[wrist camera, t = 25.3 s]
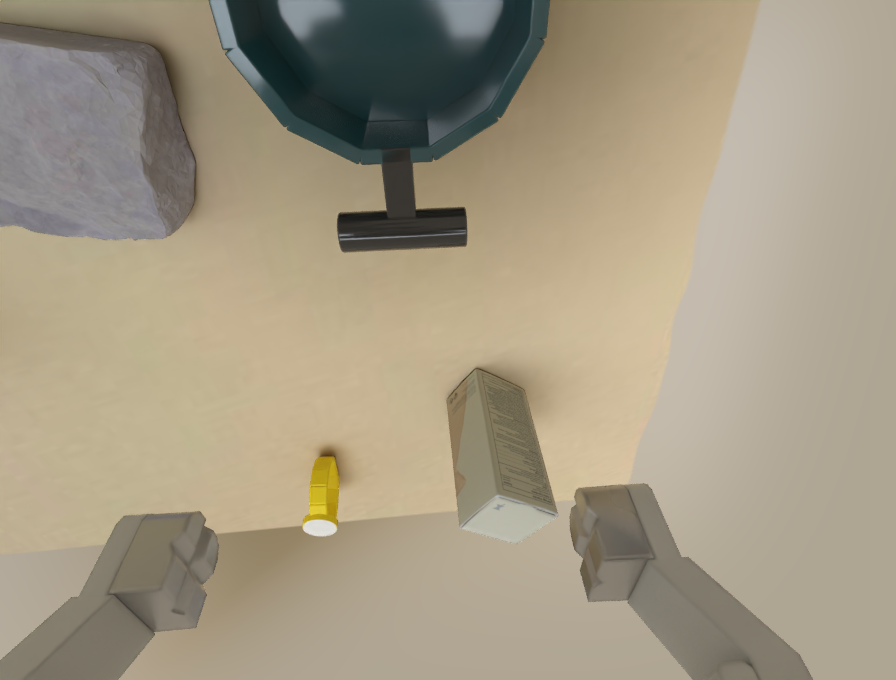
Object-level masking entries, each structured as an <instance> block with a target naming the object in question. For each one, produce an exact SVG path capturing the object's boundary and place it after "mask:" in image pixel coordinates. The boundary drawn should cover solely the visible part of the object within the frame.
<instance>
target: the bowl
mask: <svg viewBox="0 0 896 680" xmlns="http://www.w3.org/2000/svg"><path fill="white" fill-rule="evenodd" d="M209 3H210V7H211V10H212V14H213V17H214V21H215V24H216V28H217V32H218V35H219V39H220V42H221V46H222V48H223V50H228V51H227V52H226V53H225V55H226V56H227V57H228V59H229V60H230V61H231V62H232V64H233V65H234V66H235V67H236V69H237V70H238V71H239V72H240V73H241V75H242V76H243V77H244V78H245V80H246V81H247V82H248V83H249V85H250V86H251V87H252V88H253V89H254V91H255V92H256V93H257V94H258V96H259V97H260V98H261V99H262V101H263V102H264V103H265V104H266V106H267V107H268V108H269V109H270V110H271V112H272V113H273V114H274V115H275V117H276V118H277V119H278V120H279V122H280V123H281V124H282V125H283V126H284V127H286V126H288V127H287V130H288V131H290V132H292V133H295V134H297V135H299V136H301V137H303V138H305V139H307V140H309V141H311V142H313V143H315V144H317V145H319V146H321V147H323V148H325V149H327V150H329V151H331V152H334V153H336V154H338V155H340V156H342V157H344V158H346V159H348V160H350V161H352V162H354V163H356V164H359V162H361V164H362V165H370V164H382V173H383V182H384V191H385V199H386V208H387V210H381V211H360V212H340V213H339V214H338V218H337V232H338V240H339V245H340V248H341V250H342V252H344V253H348V252H369V251H390V250H411V249H432V248H452V247H466V245H467V216H466V209H465V207H447V208H425V209H416V199H415V185H414V171H413V163H416V162H432V161H433V158H434V160H438V159H439V158H441V157H442V156H444V155H446V154H447V153H449V152H450V151H452V150H453V149H455V148H457V147H458V146H460V145H461V144H463V143H464V142H466V141H468V140H469V139H471V138H472V137H474V136H476V135H477V134H479V133H480V132H482V131H483V130H485V129H487V128H488V127H490V126H491V125H493V124H494V123H496V122H497V121H498V117H499V118H501V117H502V116H503V114H504V112H505V111H506V109H507V107H508V105H509V104H510V102H511V100H512V98H513V97H514V95H515V93H516V92H517V90H518V88H519V86H520V85H521V83H522V81H523V79H524V78H525V76H526V74H527V72H528V71H529V69H530V67H531V66H532V64H533V62H534V60H535V59H536V57H537V55H538V53H539V52H540V50H541V48H542V47H543V45H544V40H543V39H544V38H546V36H547V27H548V16H549V5H550V0H209Z"/></svg>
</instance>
